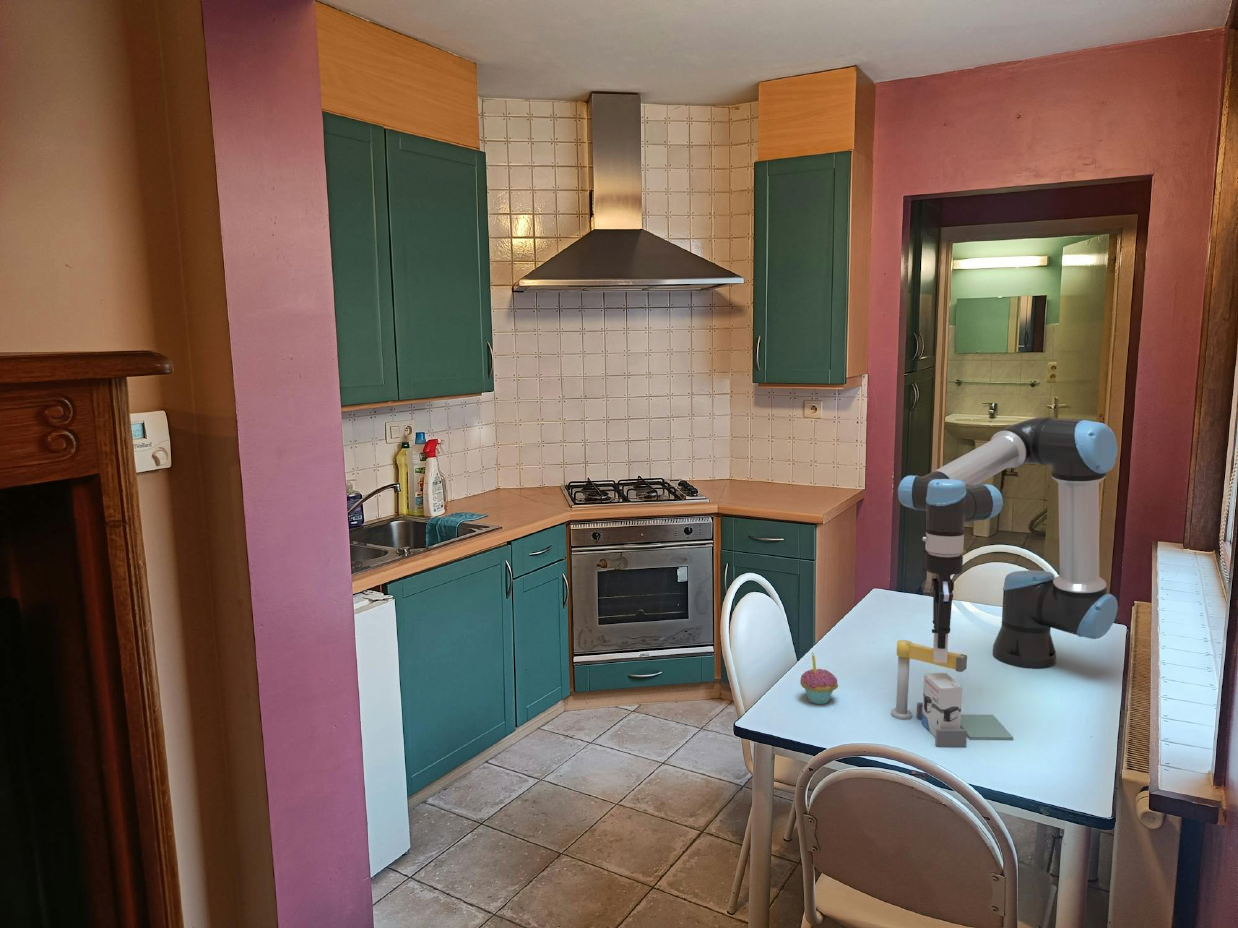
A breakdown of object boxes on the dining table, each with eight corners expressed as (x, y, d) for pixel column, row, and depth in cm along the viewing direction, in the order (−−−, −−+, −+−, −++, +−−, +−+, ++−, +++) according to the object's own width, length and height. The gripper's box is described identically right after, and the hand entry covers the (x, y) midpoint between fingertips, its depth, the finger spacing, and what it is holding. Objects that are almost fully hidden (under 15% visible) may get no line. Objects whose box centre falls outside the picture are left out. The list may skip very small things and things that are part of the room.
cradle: (938, 711, 196) (941, 653, 194) (966, 747, 179) (969, 684, 177) (888, 710, 197) (891, 653, 195) (911, 746, 180) (914, 684, 178)
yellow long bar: (894, 655, 192) (894, 642, 192) (900, 651, 194) (900, 638, 194) (961, 672, 182) (961, 659, 182) (966, 668, 185) (967, 654, 184)
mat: (992, 717, 193) (992, 714, 193) (1013, 739, 182) (1013, 737, 182) (951, 716, 193) (952, 714, 193) (969, 739, 183) (969, 736, 182)
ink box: (920, 723, 190) (923, 672, 188) (942, 722, 191) (944, 671, 189) (938, 741, 182) (940, 688, 180) (960, 740, 182) (963, 687, 180)
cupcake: (815, 710, 197) (817, 659, 195) (792, 696, 205) (793, 648, 203) (844, 702, 201) (846, 653, 199) (820, 689, 209) (821, 641, 207)
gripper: (921, 546, 189) (918, 650, 192) (928, 558, 177) (924, 670, 180) (958, 547, 187) (954, 653, 190) (967, 560, 175) (963, 673, 178)
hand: (939, 661), depth 185 cm, fingers closed
